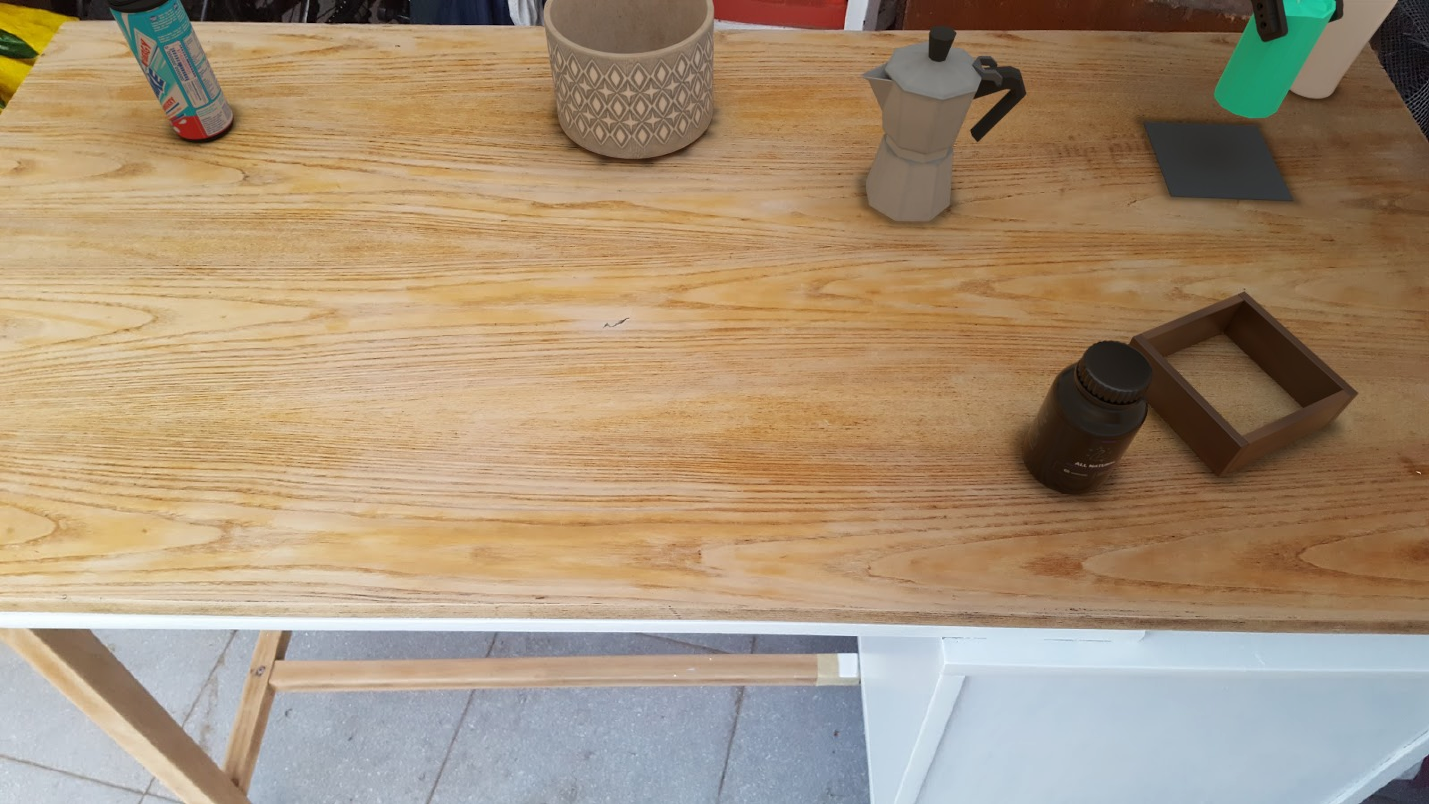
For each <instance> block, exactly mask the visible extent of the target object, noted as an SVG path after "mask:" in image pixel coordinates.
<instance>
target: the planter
mask: <svg viewBox="0 0 1429 804" xmlns="http://www.w3.org/2000/svg"><path fill="white" fill-rule="evenodd" d="M542 14H543V15H542V16H543V24H544V31H545V37H546V44H547V51H548V57H549V58H548V59H549V65H550V72H551V78H552V86H553V92H554V99H555V105H556V112H557V119H558V123H559V125H560V127H561V129H562V131H563V132H564V133H565V135H566V136H567V137H568V138H569V139H570V140H571V141H573V142H574V143H575V144H577V145H578V146H580V147H581V148H582V149H585V150H587V151H590V152H592V153H595V154H598V155H601V156H604V157H605V156H606V157H611V158H617V159H627V160H628V159H632V160H633V159H634V160H639V159H649V158H656V157H660V156H661V157H662V156H665V155H668V154H671V153H674V152H677V151H679V150H681V149H683V148H686V147H687V146H688V145H690V144H692V143H694V142H695V141H696V140H698V138H700V137H701V136H702V135H703V134H704V133H705V132H706V130H707V129H708V127H709V126H710V124H711V121H712V119H713V115H714V71H715V70H714V68H715V67H714V66H715V64H714V63H715V61H714V60H715V59H714V56H715V55H714V54H715V51H714V50H715V41H714V40H715V6H714V2H713V0H546V1H545V3H544V6H543V12H542Z"/></svg>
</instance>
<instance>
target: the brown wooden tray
mask: <svg viewBox="0 0 1429 804" xmlns="http://www.w3.org/2000/svg"><path fill="white" fill-rule="evenodd" d="M1221 334H1224V335H1225V336H1227V338H1228V339H1230V340H1231V342H1233V343H1234V344H1235V345H1236V346H1237V347H1238V348H1239V349H1240V350H1241V351H1242V352H1243V353H1244V354H1245V355H1247V357H1249V359H1251V361H1253V362H1254V363H1255V364H1256V365H1257V366H1258V367H1259V368H1260V369H1261V370H1262V371H1264V372H1265V374H1267V375H1268V377H1270V378H1271V379H1272V380H1273V381H1274V382H1275V383H1276V384H1277V385H1278V386H1279V387H1280V388H1281V389H1282V390H1283V391H1285V392H1286V393H1287V394H1288V395H1289V396H1290V397H1291V398H1292V399H1293V400H1294V401H1296V403H1297V404H1298V405H1299V406H1300V407H1302V408H1300V409H1298V410H1296V411H1293V412H1292V413H1289V414H1287V415H1285V416H1283V417H1281V418H1279V419H1276V420H1274V421H1271V422H1270V423H1267V424H1265V425H1263V426H1261V427H1259V428H1257V429H1254V430H1252V431H1250V432H1248V433H1246V434H1243V435H1241V434H1240V433H1239V432H1238V431H1237V430H1236V429H1235V428H1234V426H1232V425H1231V424H1230V422H1228V420H1226V419H1225V417H1223V416H1222V414H1220V413H1219V412H1218V410H1217V409H1215V408H1214V406H1212V405H1211V404H1210V402H1209V401H1208V400H1207V399H1206V398H1205V397H1203V396H1202V394H1201V393H1200V392H1198V390H1197V389H1195V387H1194V386H1193V385H1192V384H1191V383H1190V382H1189V381H1188V380H1187V379H1186V378H1185V377H1184V375H1182V374H1181V373H1180V372H1179V371H1178V370H1177V369H1176V368H1175V367H1174V366H1173V365H1172V364H1171V363H1170V361H1168V360H1167V359H1166V357H1168V356H1170V355H1172V354H1173V355H1174V354H1175V353H1178V352H1180V351H1183V350H1185V349H1187V348H1189V347H1192V346H1194V345H1197V344H1199V343H1202V342H1204V341H1206V340H1209V339H1211V338H1214V337H1217V336H1219V335H1221ZM1128 345H1131V346H1132V347H1134V348H1136V349H1138V351H1140V352H1142V353H1143V355H1144V356H1145V357H1147V360H1148V361H1149V362H1150V365H1151V366H1152V371H1153V375H1152V376H1153V379H1152V381H1151V384H1150V385H1149V387H1148V389H1147V391H1146V393H1145V394H1146V397H1147V401H1148V406H1150V407H1151V408H1152V409H1153V410H1154V411H1155V412H1156V413H1157V414H1158V415H1159V417H1160V418H1161V419H1162V420H1163V421H1164V422H1165V423H1166V424H1167V425H1168V426H1169V427H1170V428H1171V429H1172V430H1173V432H1174V433H1176V435H1177V436H1178V437H1179V438H1180V439H1181V440H1182V441H1183V442H1184V443H1185V444H1186V446H1188V447H1189V448H1190V450H1191V451H1192V452H1193V453H1194V454H1195V455H1196V456H1197V457H1198V458H1199V459H1200V460H1201V462H1202V463H1204V465H1206V467H1207V468H1208V469H1209V470H1210V471H1211V472H1212V473H1213V474H1214V475H1215V476H1216V477H1217V478H1220V477H1222V476H1224V475H1226V474H1228V473H1230V472H1233V471H1234V470H1236V469H1238V468H1241V467H1243V466H1245V465H1248V464H1250V463H1252V462H1254V461H1256V460H1258V459H1260V458H1262V457H1265V456H1266V455H1269V454H1271V453H1273V452H1275V451H1277V450H1279V449H1281V448H1283V447H1286V446H1288V445H1291V444H1292V443H1294V442H1296V441H1299V440H1300V439H1302V438H1305V437H1307V436H1309V435H1311V434H1313V433H1315V432H1318V431H1320V430H1322V429H1324V428H1326V427H1329V426H1331V425H1332V424H1333V423H1334V421H1335V420H1337V418H1338V417H1339V416H1340V415H1341V414H1342V413H1343V412H1344V411H1345V410H1346V408H1347V407H1348V406H1349V405H1350V404H1351V403H1352V401H1354V399H1355V398H1356V397H1358V395H1359V392H1358V391H1357V390H1356V389H1355V388H1354V387H1353V386H1352V385H1350V384H1349V383H1348V382H1347V381H1346V380H1345V379H1344V378H1343V377H1342V376H1341V375H1339V374H1338V373H1337V372H1336V371H1335V370H1334V369H1333V368H1331V367H1330V366H1329V365H1328V364H1327V363H1326V362H1325V361H1324V360H1322V359H1321V358H1320V357H1319V356H1318V355H1317V354H1316V353H1314V352H1313V350H1311V349H1310V348H1309V347H1308V346H1307V345H1306V344H1305V343H1303V341H1301V340H1300V339H1299V338H1298V337H1297V336H1296V335H1295V334H1293V333H1292V332H1291V331H1290V330H1289V329H1288V328H1287V327H1285V326H1284V325H1283V324H1282V323H1281V322H1280V321H1278V319H1276V318H1275V317H1274V316H1273V315H1272V314H1271V313H1270V312H1269V311H1268V310H1267V309H1266V308H1264V307H1263V306H1262V305H1261V304H1260V303H1259V302H1257V300H1255V299H1254V298H1253V297H1252V296H1251V295H1249V293H1248V292H1246V291H1241V292H1239V293H1238V294H1235V295H1233V296H1230V297H1228V298H1225V299H1223V300H1220V301H1217V302H1215V303H1213V304H1210V305H1208V306H1206V307H1203V308H1200V309H1198V310H1196V311H1193V312H1191V313H1188V314H1185V315H1183V316H1181V317H1178V318H1176V319H1173V320H1171V321H1168V322H1166V323H1163V324H1161V325H1157V326H1156V327H1154V328H1151V329H1149V330H1146V331H1143V332H1141V333H1138V334H1136V335H1133V336H1132V337H1131V339H1130V341H1129V343H1128Z"/></svg>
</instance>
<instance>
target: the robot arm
mask: <svg viewBox="0 0 1429 804" xmlns="http://www.w3.org/2000/svg"><path fill="white" fill-rule="evenodd" d="M1248 1H1250V3H1251V6H1252V11H1253V12H1254V17H1255V23H1256V28H1257V32H1258V34H1259V36H1260V38H1261V40H1262V41H1263V42H1268V41H1271V40H1274V39H1278V38H1281V37H1284V36H1286V35H1287V33H1288V26H1287V20H1286V15H1285V9H1284V4H1283V0H1248ZM1335 1H1336V9H1335V11H1334V13H1333V15H1332V16H1331V18H1330V20H1329V22H1328V23H1330V22H1333V21H1336V20H1339V19H1341V18H1342V17H1343V7H1344V3H1343V0H1335ZM1253 12H1252V13H1253Z"/></svg>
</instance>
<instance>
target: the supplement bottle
mask: <svg viewBox="0 0 1429 804" xmlns="http://www.w3.org/2000/svg"><path fill="white" fill-rule="evenodd" d="M1152 375H1153V371H1152V366H1151V365H1150V362H1149V361H1148V360H1147V357H1145V356H1144V355H1143V353H1142V352H1140V351H1138V349H1136V348H1134V347H1132V346H1131V345H1129V344H1127V343H1126V342H1122V341H1119V340H1112V339H1111V340H1103V341H1100V340H1099V341H1097V342H1094V343H1093V344H1091V345H1089V346H1088V347H1087V349H1086V350H1085V351H1084V353H1083V354H1082V357H1081V358H1079V359H1078V361H1076V362H1073V363H1071V364H1069V365H1067V366H1065V367H1064V368H1062V369H1061V370H1060V371H1059V372H1058V373H1057V375H1056V376H1055V378H1054V380H1053V381H1052V383H1051V385H1050V387H1049V389H1048V391H1047V393H1046V394H1045V396H1044V399H1043V401H1042V403H1041V405H1040V407H1039V409H1038V411H1037V413H1036V415H1035V417H1034V419H1033V421H1032V423H1031V425H1030V427H1029V429H1028V432H1027V434H1026V436H1025V438H1024V441H1023V443H1022V452H1021V453H1022V459H1023V462H1024V465H1025V467H1026V468H1027V470H1028V472H1029V473H1030V474H1031V475H1032V477H1033V478H1034V479H1035V480H1036V481H1037V482H1039V483H1040V484H1041V485H1043V486H1045V487H1046V488H1048V489H1050V490H1052V491H1055V492H1056V493H1057V492H1058V493H1061V494H1065V495H1071V496H1072V495H1073V496H1080V495H1087V494H1090V493H1093V492H1095V491H1097V490H1098V489H1100V488H1101V487H1102V486H1103V485H1104V483H1105V482H1106V481H1107V480H1108V478H1109V477H1110V476H1111V474H1112V472H1113V471H1114V469H1115V468H1116V467H1117V465H1118V463H1119V462H1120V460H1121V459H1122V457H1123V456H1124V454H1125V452H1126V451H1127V450H1128V449H1129V447H1130V445H1131V443H1132V442H1133V440H1134V439H1135V437H1136V436H1137V434H1138V433H1139V431H1140V430H1141V428H1142V427H1143V425H1144V423H1145V421H1146V419H1147V416H1148V412H1149V404H1148V401H1147V397H1146V394H1145V393H1146V391H1147V389H1148V387H1149V385H1150V384H1151V381H1152V379H1153V376H1152Z"/></svg>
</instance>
